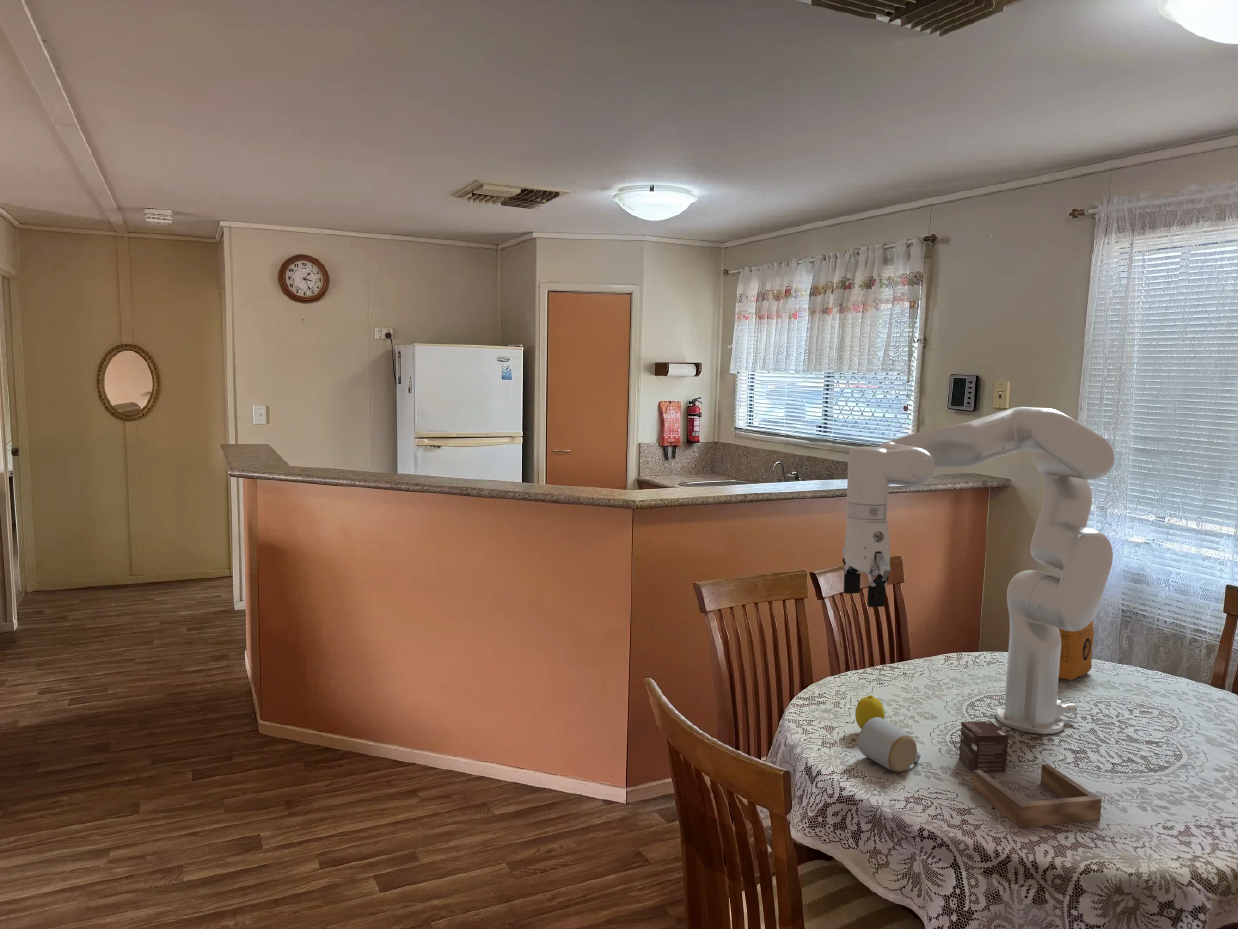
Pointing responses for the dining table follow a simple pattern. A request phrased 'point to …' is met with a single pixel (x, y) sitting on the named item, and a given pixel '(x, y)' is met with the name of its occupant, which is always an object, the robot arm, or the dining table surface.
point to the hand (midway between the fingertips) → (863, 599)
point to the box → (983, 746)
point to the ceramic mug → (887, 745)
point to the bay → (1047, 812)
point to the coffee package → (1076, 652)
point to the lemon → (868, 710)
